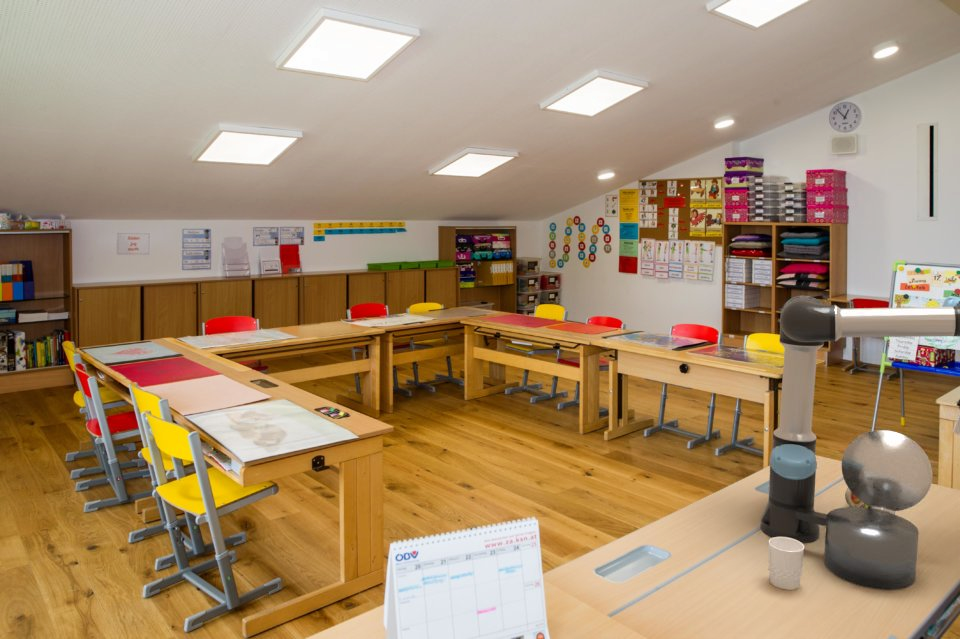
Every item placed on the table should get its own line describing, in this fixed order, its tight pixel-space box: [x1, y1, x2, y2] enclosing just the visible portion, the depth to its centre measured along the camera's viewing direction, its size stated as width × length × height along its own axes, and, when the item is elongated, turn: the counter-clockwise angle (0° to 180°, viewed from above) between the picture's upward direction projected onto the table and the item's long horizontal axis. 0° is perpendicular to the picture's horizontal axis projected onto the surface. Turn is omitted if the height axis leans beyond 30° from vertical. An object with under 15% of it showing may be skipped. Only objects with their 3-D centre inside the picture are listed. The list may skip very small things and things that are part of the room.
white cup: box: [768, 537, 805, 591], centre depth 171 cm, size 8×8×10 cm
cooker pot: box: [795, 506, 920, 591], centre depth 179 cm, size 28×20×12 cm
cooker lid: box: [841, 429, 933, 515], centre depth 185 cm, size 21×21×4 cm
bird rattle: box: [844, 487, 868, 508], centre depth 213 cm, size 6×11×9 cm
